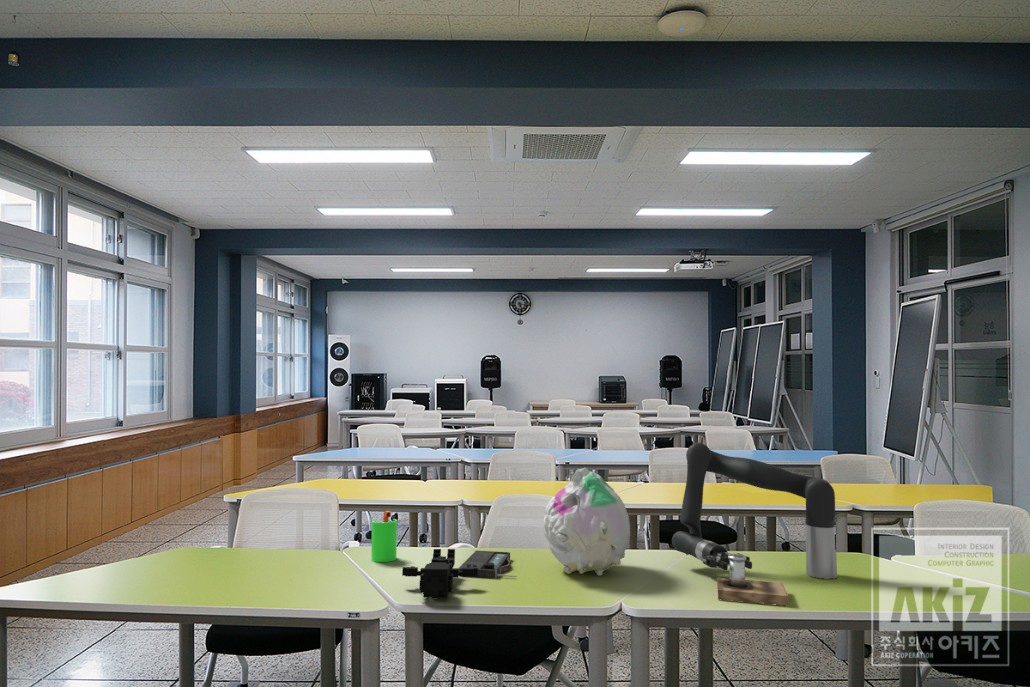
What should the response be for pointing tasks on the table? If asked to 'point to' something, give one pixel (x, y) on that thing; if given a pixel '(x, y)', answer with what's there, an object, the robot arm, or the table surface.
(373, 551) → the green pencil cup
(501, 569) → the radio
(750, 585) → the block
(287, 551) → the table surface
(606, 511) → the sculpture
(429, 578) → the toy
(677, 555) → the table surface
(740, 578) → the silver metal peg
